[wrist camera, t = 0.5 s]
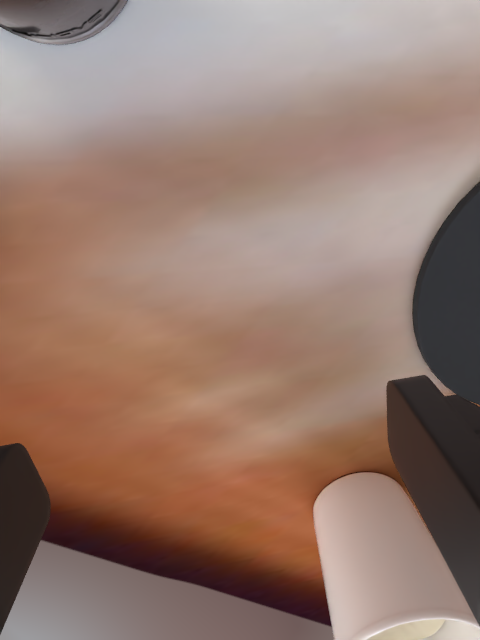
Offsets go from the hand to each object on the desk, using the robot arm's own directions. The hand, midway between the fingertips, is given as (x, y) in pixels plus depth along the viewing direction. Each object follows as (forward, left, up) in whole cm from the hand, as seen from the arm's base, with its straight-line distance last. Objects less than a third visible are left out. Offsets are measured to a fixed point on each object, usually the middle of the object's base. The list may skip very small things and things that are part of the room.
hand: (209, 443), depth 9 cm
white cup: (+26, +7, -19) cm, 33 cm away
